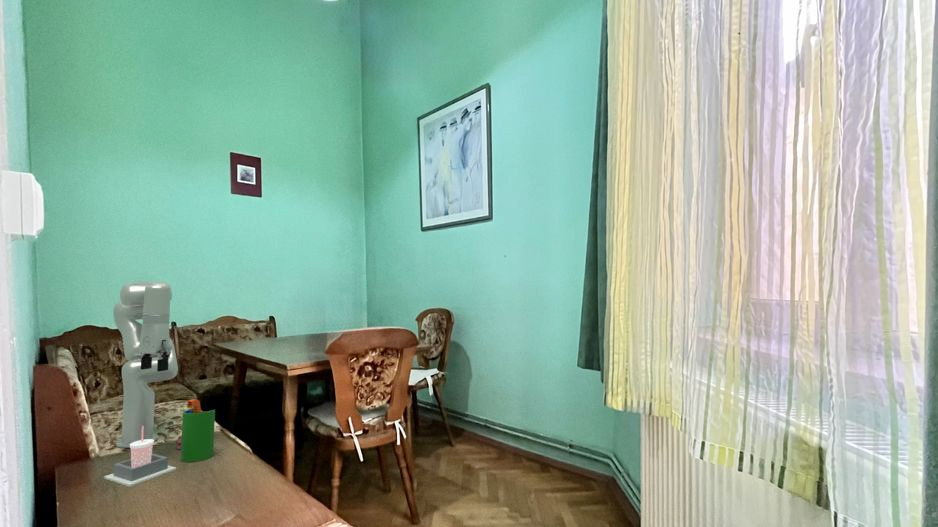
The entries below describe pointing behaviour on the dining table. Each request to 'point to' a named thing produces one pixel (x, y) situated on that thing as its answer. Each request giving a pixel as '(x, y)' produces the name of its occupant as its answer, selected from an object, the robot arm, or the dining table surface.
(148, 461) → the beverage cup
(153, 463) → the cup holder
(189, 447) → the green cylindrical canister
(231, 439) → the dining table surface
